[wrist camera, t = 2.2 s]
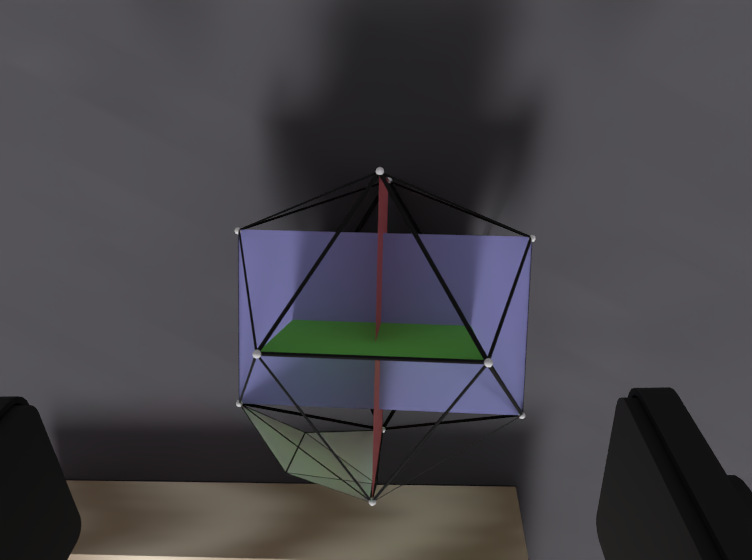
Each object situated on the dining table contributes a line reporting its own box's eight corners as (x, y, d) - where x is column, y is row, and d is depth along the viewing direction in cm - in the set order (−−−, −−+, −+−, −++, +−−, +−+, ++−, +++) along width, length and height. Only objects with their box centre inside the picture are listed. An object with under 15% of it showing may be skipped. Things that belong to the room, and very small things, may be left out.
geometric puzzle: (220, 76, 13) (138, 474, 9) (553, 80, 12) (591, 496, 9) (282, 240, 19) (246, 510, 16) (501, 246, 19) (512, 524, 16)
